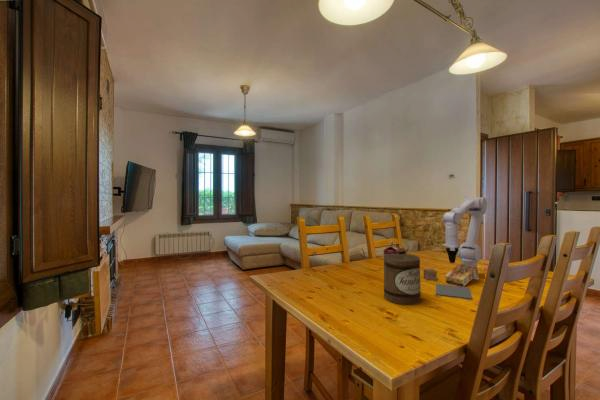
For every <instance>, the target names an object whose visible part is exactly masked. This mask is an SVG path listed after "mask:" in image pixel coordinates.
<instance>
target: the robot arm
mask: <svg viewBox="0 0 600 400" xmlns="http://www.w3.org/2000/svg"><path fill="white" fill-rule="evenodd" d="M487 208H488V201H487V199H486V197H484V196H481V197H468V196H467V197H465V198H464V199H463V202H462V204H461V205H455V207H454V208H452V209H451V210H450V211H446V212H444V214H443V216H442V222H443V226H444V227H445V233H444V235H445V243H442V246H444V247H446V248H445V250H446V253H447V255H448V260H449V263H450V264H455V263H456V259H457V257H458V258H459V260H460V261H461V264H466V265H471V266H477V267H478V262H480V260H481V259H482V248H481V247H480V246H479V245H478V244H477V243H478V239H479V233H480V228H481V223H482V219H483V215H485V214H486V212H487ZM467 213H468V214H469V215H470V216H471V217H470V221H469V225H468V230H467V235H466V239H465V242H463V243H461V244H460V245H459V224H460V223H461V220H462V218H463V217H464V216H465V215H466V214H467ZM472 280H477V281H479V280H480V278H479V275H478V274H477V275H476V276H475V277H474V278H473V279H472Z"/></svg>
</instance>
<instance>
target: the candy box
mask: <svg viewBox="0 0 600 400" xmlns="http://www.w3.org/2000/svg"><path fill="white" fill-rule="evenodd" d="M478 269H479V268H478V265H477V266H471V265H466V264H462V262H460V263H458V264H457V265H456V266H455V267H454V268H452V269H451V270H450V271H448V273H446V274H445V275H444V277H445V282H446V283H448V284H451V285H454V286H460V287H466V285H467V284H468V283H469V282H471V281H472V280H474V279H473V278H474V277H475V276H476V275H477V276H478V274H479V271H478Z"/></svg>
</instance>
